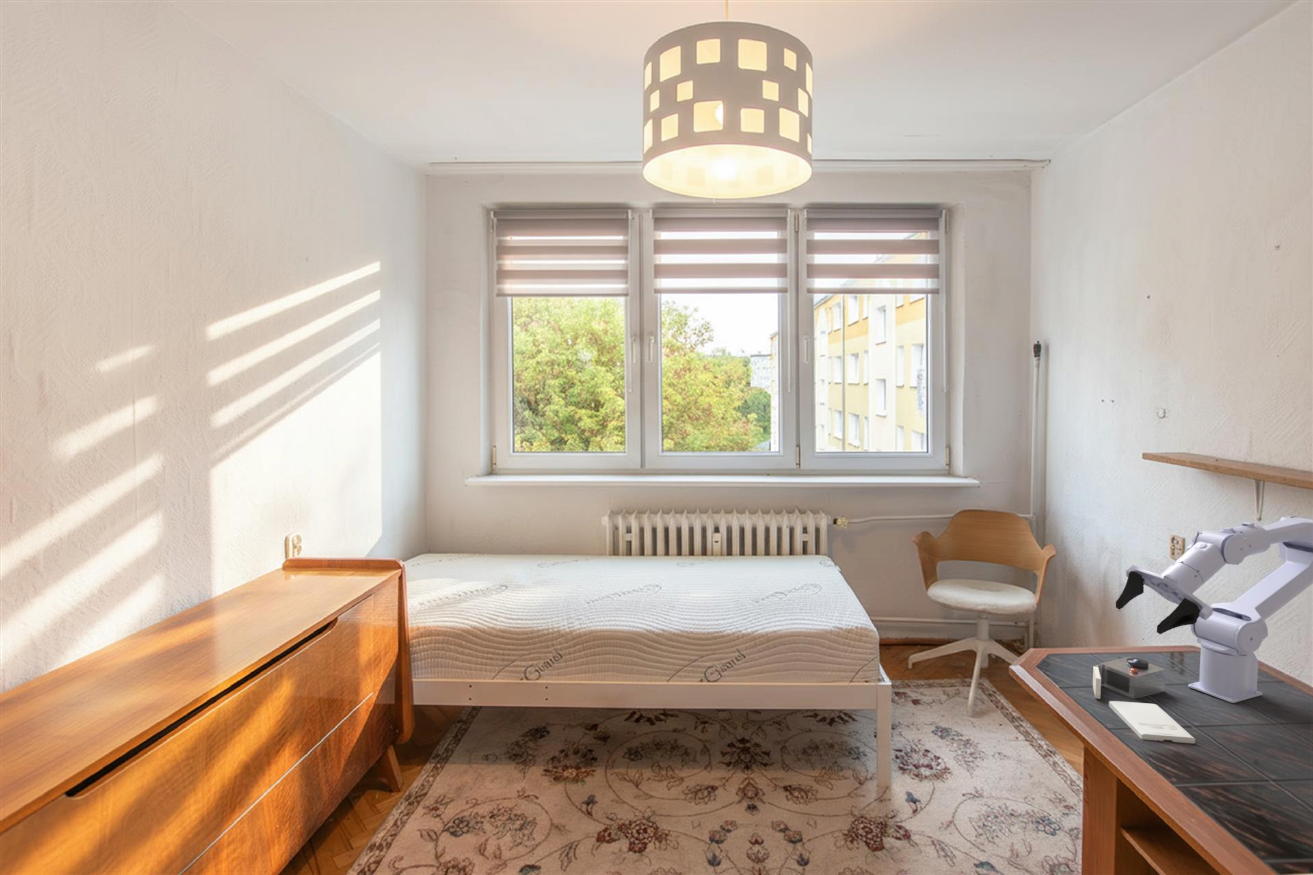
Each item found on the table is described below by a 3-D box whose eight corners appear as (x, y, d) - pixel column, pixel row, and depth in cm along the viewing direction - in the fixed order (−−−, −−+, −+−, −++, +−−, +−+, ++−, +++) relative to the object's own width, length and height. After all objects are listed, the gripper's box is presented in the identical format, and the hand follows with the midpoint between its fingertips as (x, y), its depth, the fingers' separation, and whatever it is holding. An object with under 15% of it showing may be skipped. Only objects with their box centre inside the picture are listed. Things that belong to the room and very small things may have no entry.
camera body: (1129, 677, 141) (1130, 650, 141) (1164, 691, 135) (1165, 663, 134) (1098, 684, 138) (1099, 657, 138) (1133, 699, 132) (1134, 670, 131)
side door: (1099, 684, 138) (1100, 665, 138) (1103, 699, 131) (1104, 679, 131) (1092, 682, 138) (1092, 663, 138) (1095, 697, 132) (1096, 678, 132)
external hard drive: (1156, 712, 127) (1195, 746, 115) (1108, 708, 129) (1141, 741, 117) (1157, 703, 127) (1195, 737, 115) (1108, 700, 129) (1141, 732, 117)
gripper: (1148, 541, 134) (1100, 583, 131) (1231, 583, 122) (1179, 629, 120) (1147, 563, 138) (1100, 604, 135) (1227, 606, 126) (1177, 651, 124)
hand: (1137, 617), depth 128 cm, fingers open, 7 cm apart
